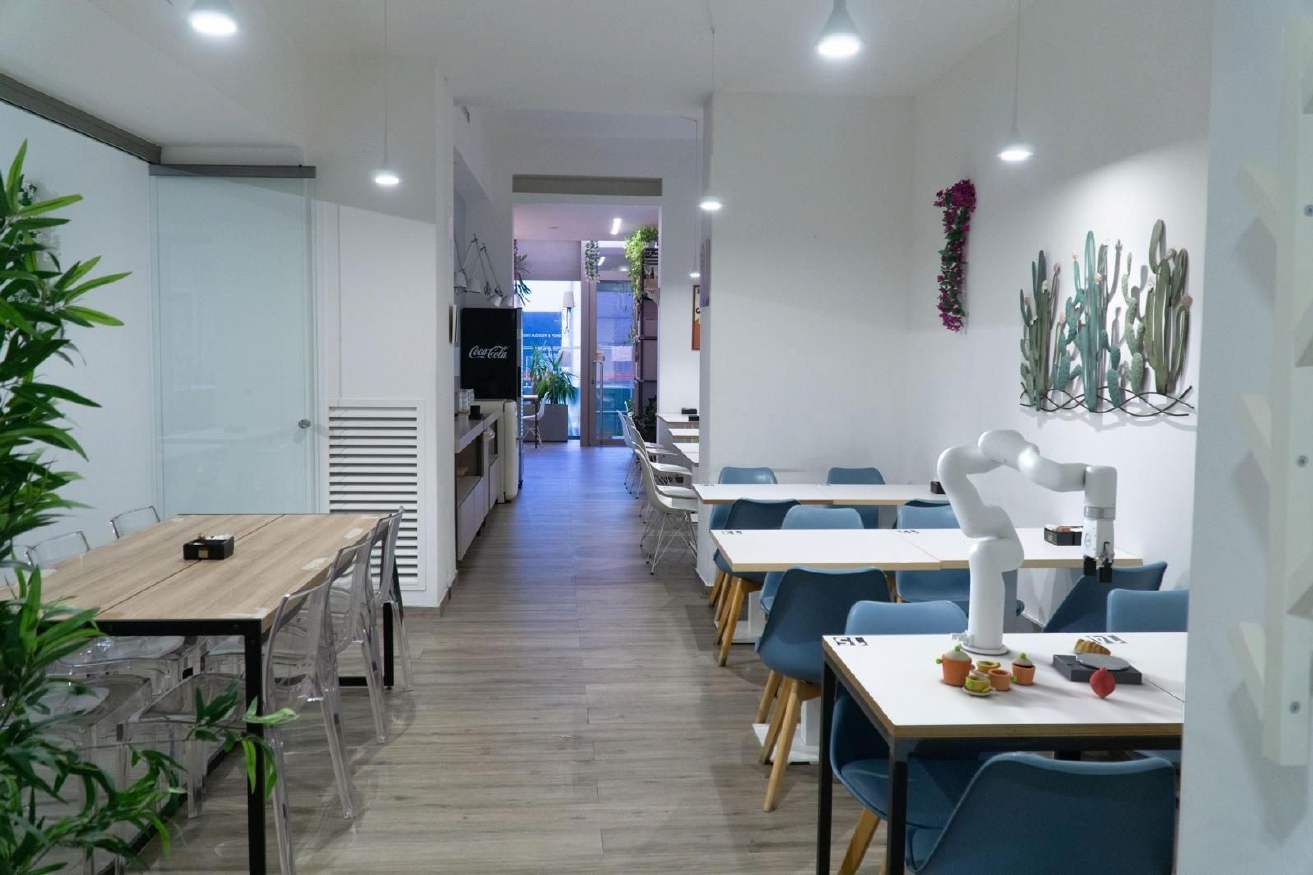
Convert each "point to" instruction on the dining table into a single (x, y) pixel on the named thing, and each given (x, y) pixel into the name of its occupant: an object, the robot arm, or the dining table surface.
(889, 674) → the dining table surface
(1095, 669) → the scale
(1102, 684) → the onion
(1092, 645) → the pastry
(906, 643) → the dining table surface
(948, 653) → the toy tea set
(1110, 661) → the scale pan
